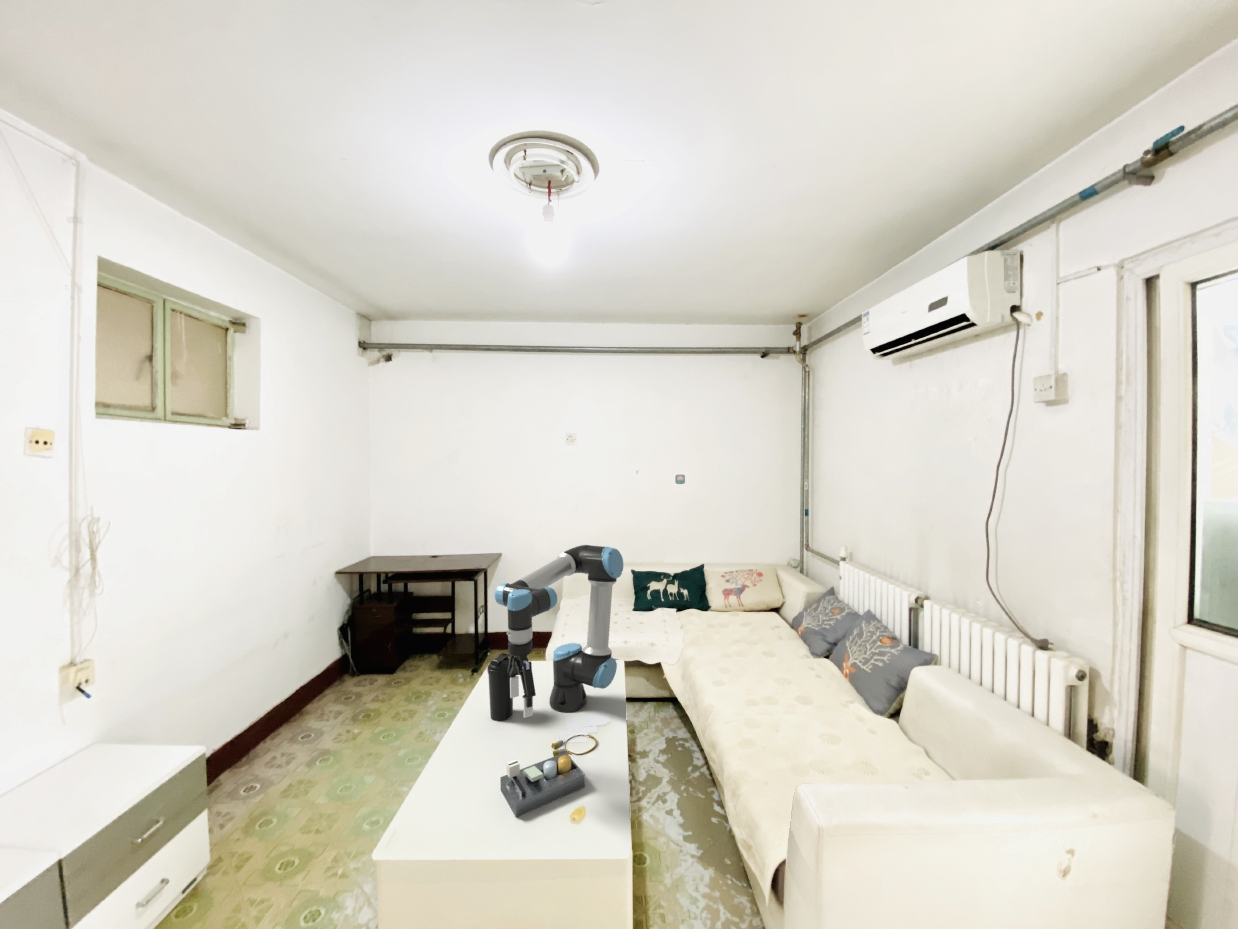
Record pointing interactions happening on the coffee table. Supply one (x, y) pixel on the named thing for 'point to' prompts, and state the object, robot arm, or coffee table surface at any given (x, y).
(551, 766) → the blue-grey button
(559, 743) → the extension cord
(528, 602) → the robot arm
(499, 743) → the coffee table surface
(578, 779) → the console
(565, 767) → the amber button
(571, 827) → the coffee table surface
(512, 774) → the fader knob
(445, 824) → the coffee table surface
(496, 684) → the water bottle
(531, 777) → the panel
